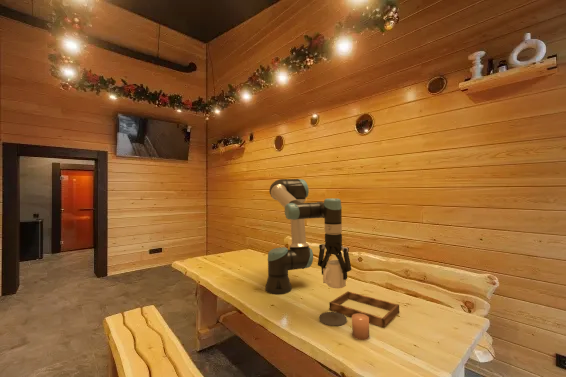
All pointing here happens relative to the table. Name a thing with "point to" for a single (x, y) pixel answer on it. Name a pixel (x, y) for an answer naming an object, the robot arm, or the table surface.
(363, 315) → the orange rounded cylinder
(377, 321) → the frame
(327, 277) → the mug
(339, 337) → the table surface
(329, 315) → the dark brown round mat
